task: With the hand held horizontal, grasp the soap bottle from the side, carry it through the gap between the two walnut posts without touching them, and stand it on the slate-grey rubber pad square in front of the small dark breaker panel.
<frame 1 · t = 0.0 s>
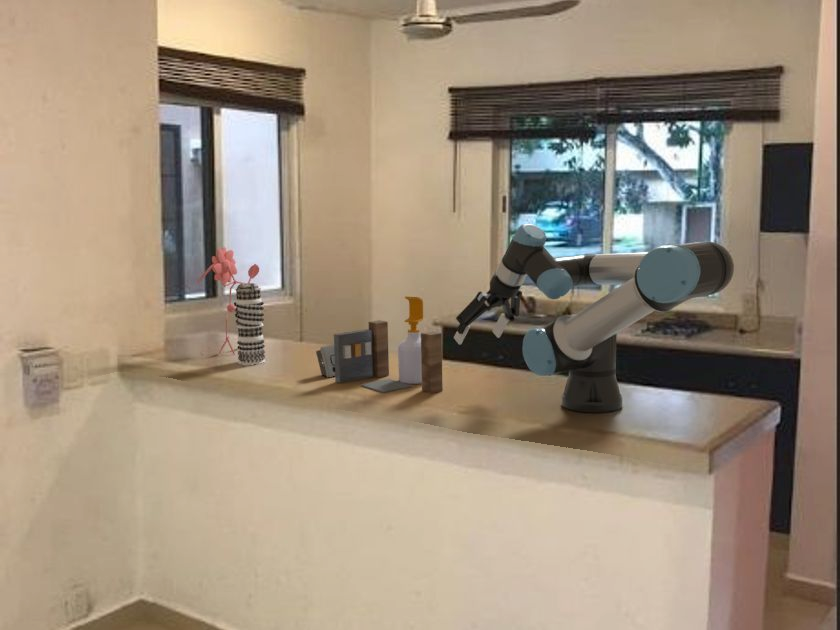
hand: (476, 337, 253), 15 cm above the countertop, tool tilted 35°, fingers open, 13 cm apart
decorative candle: (251, 362, 301), on the countertop
pad: (386, 386, 266), on the countertop
breaker panel: (354, 379, 275), on the countertop
electrical switch: (333, 375, 282), on the countertop
figurine: (228, 351, 321), on the countertop
gate: (404, 382, 270), on the countertop
soap bottle: (414, 381, 272), on the countertop
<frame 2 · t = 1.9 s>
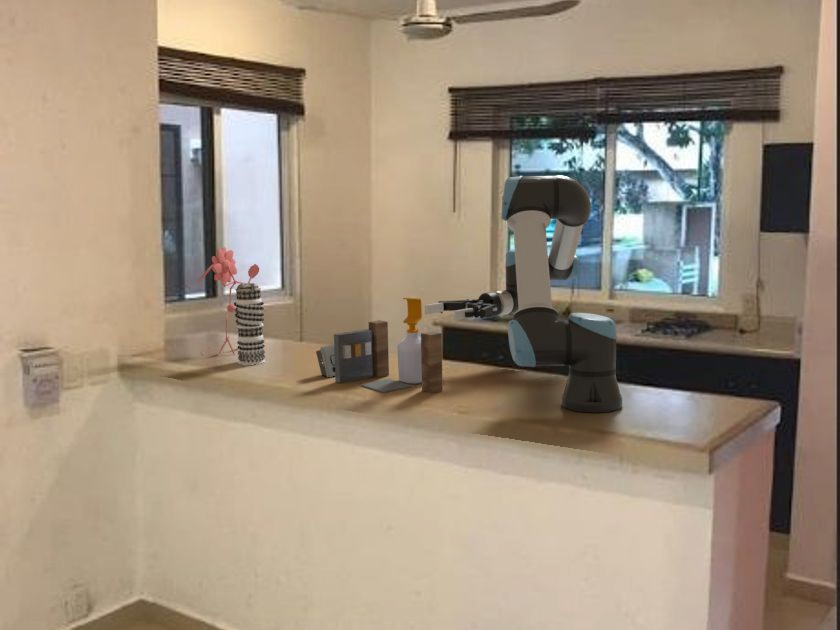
hand: (439, 312, 275), 19 cm above the countertop, tool horizontal, fingers open, 13 cm apart
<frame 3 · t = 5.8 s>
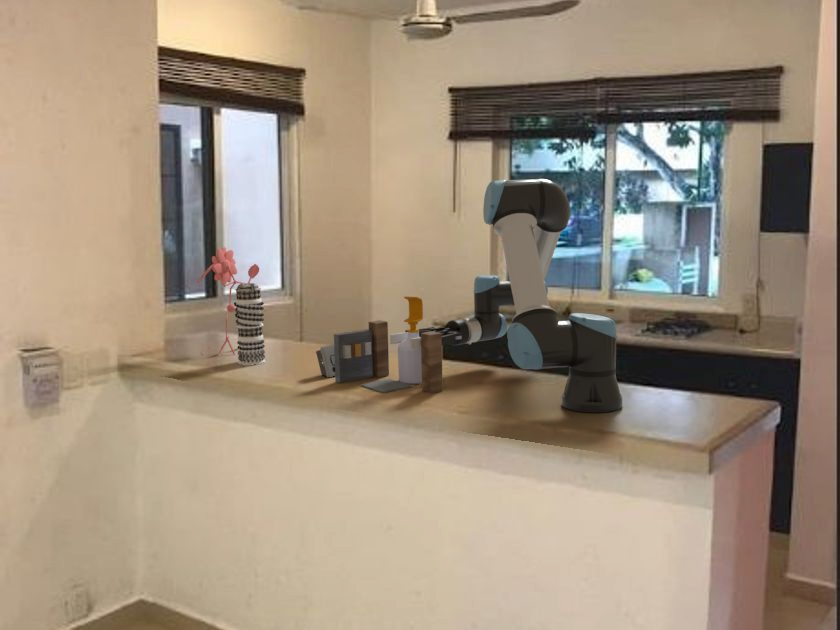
hand: (400, 341, 267), 12 cm above the countertop, tool horizontal, fingers closed on soap bottle, 8 cm apart
soap bottle: (414, 381, 272), on the countertop, touching gripper
everything else where it was.
when the fingers open (13 cm above the countertop, at t = 9.4 s): soap bottle drops 1 cm, resting on pad.
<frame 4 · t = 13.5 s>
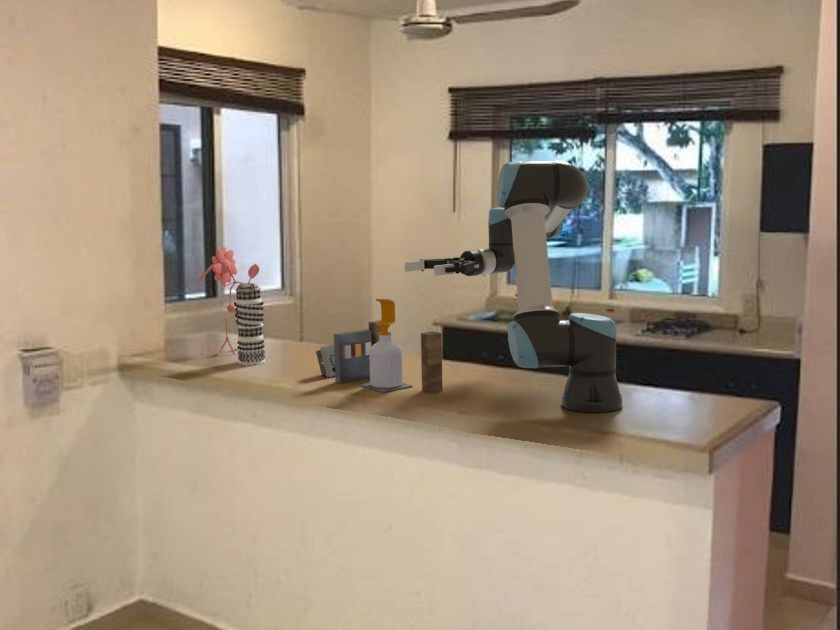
hand: (419, 268, 268), 32 cm above the countertop, tool horizontal, fingers open, 13 cm apart
soap bottle: (386, 385, 266), resting on pad
everything else where it was.
at the end: soap bottle inside the target area on the pad (0.0 cm from its centre), point 0.2 cm above the pad's base; soap bottle tilted 0°; the gripper is holding nothing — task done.
